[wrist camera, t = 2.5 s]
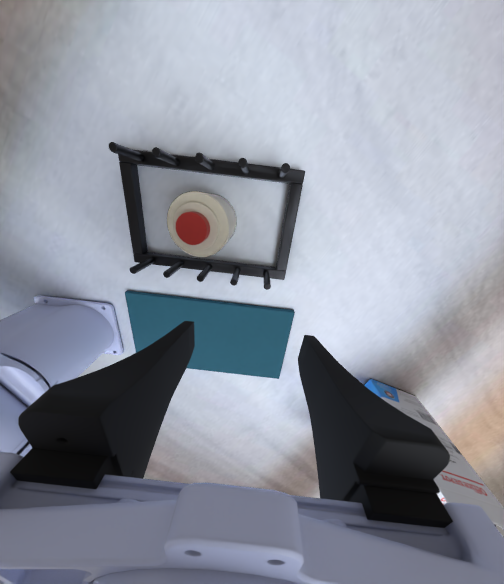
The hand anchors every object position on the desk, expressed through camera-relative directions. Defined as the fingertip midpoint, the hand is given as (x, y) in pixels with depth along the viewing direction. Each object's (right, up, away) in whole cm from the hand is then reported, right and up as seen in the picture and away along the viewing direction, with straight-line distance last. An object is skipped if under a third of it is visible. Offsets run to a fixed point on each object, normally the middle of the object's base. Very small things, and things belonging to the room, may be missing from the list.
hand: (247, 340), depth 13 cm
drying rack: (-4, +10, +7) cm, 13 cm away
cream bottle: (-4, +10, +7) cm, 13 cm away
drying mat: (-5, -3, +13) cm, 14 cm away
